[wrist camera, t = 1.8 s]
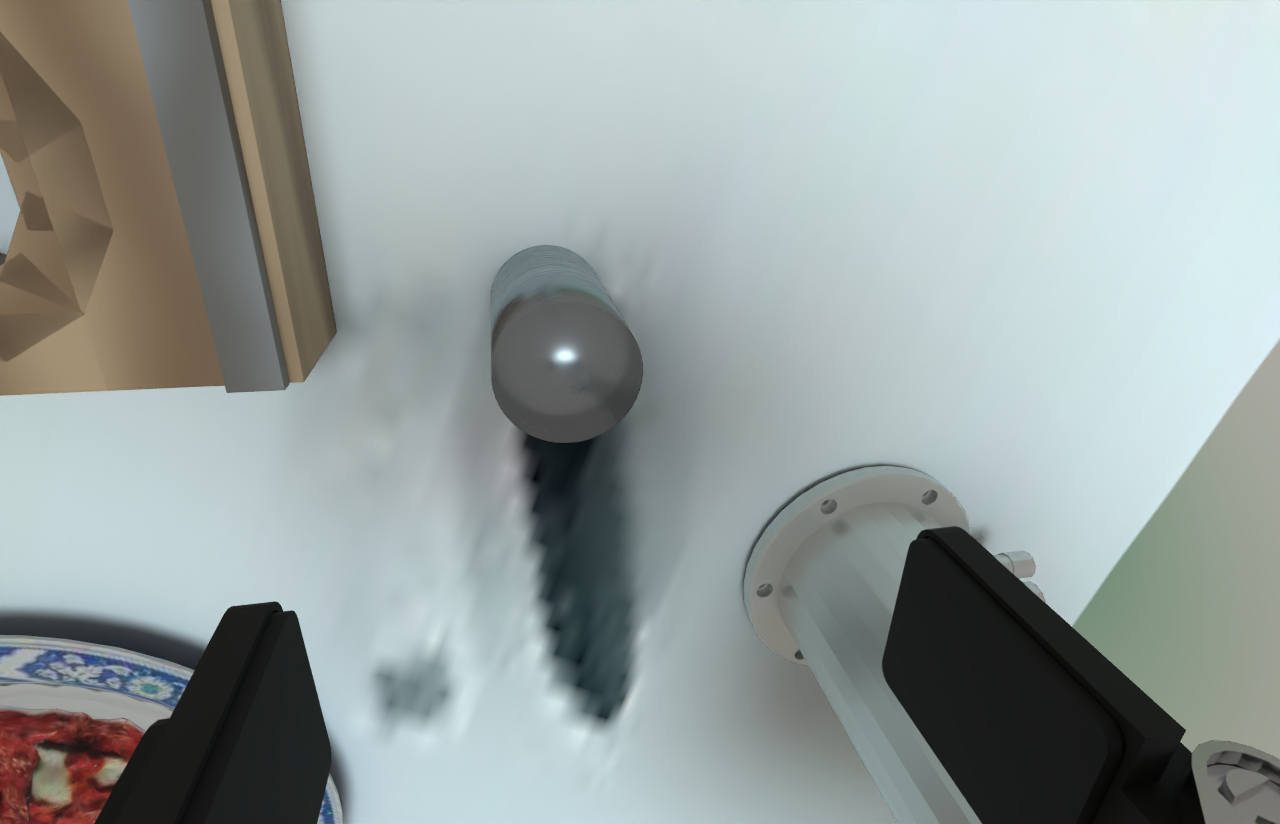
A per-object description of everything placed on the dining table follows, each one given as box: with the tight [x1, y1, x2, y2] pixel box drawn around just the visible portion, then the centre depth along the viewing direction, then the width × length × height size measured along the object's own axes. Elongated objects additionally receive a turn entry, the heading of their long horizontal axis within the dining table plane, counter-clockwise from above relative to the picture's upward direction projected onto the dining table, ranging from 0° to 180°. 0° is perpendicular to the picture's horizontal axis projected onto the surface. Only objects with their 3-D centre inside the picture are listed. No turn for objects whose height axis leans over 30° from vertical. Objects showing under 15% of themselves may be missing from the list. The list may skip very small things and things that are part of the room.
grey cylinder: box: [491, 245, 643, 443], centre depth 23 cm, size 4×4×8 cm
